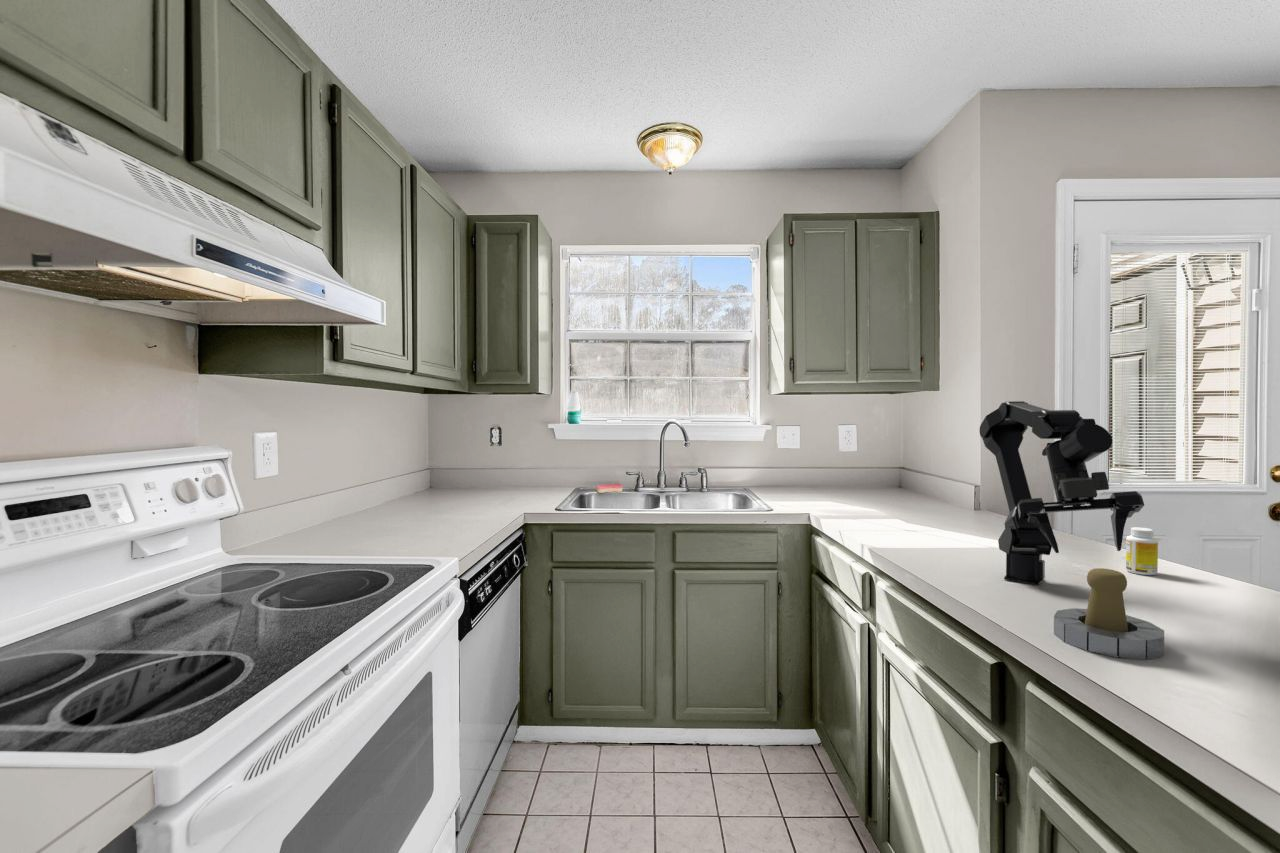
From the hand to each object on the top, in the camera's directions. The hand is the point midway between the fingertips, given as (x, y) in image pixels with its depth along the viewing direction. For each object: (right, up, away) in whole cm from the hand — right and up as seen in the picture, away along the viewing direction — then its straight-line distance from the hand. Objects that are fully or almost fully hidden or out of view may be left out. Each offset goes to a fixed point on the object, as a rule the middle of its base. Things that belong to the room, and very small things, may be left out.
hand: (1087, 551), depth 107 cm
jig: (-5, -13, -11) cm, 17 cm away
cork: (-5, -12, -10) cm, 17 cm away
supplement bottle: (+34, -11, +28) cm, 46 cm away
